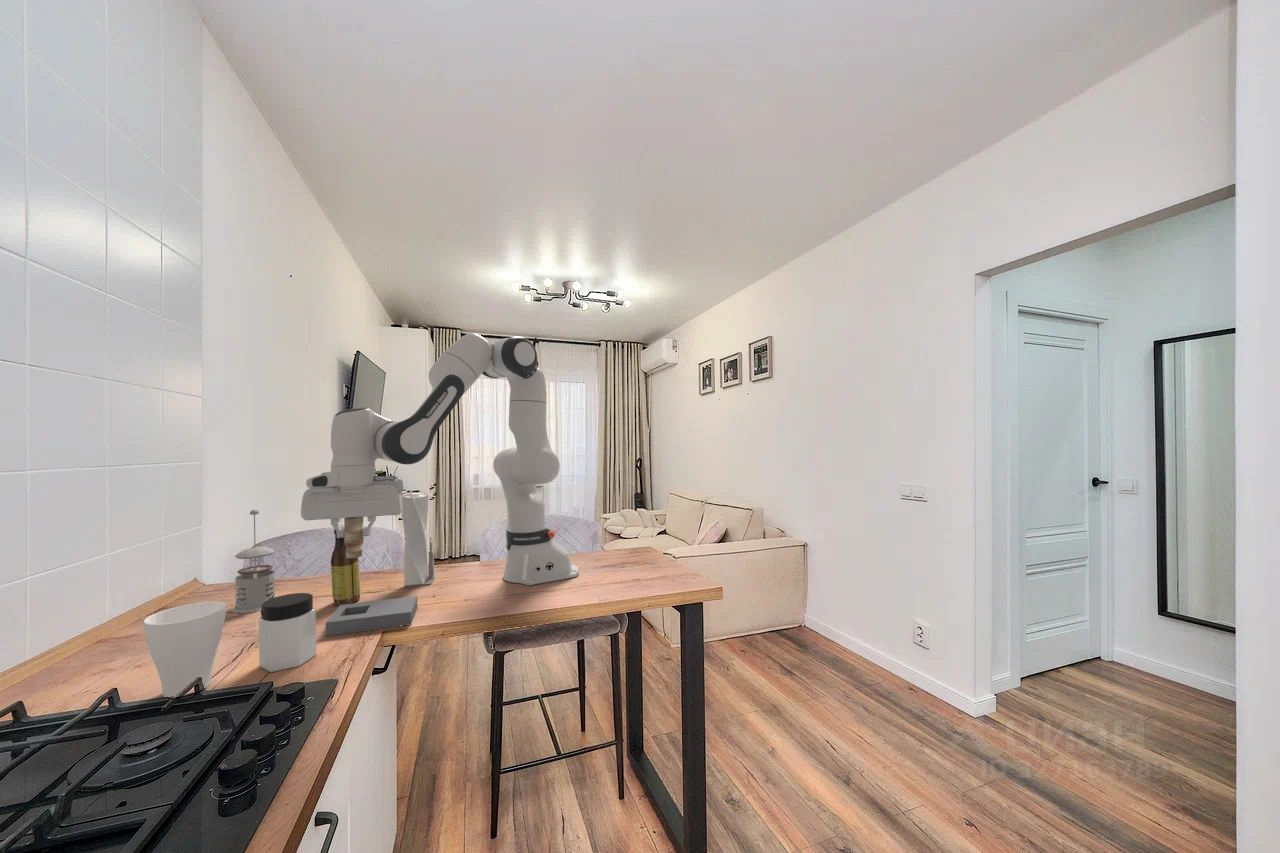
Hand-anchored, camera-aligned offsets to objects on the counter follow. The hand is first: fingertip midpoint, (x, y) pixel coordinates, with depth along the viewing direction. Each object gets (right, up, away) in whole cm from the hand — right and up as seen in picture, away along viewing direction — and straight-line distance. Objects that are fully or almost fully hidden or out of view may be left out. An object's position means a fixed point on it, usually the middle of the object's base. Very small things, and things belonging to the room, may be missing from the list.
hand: (354, 536), depth 111 cm
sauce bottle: (-11, -21, +14) cm, 27 cm away
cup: (-13, -21, -27) cm, 37 cm away
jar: (-2, -21, -18) cm, 27 cm away
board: (+4, -20, +1) cm, 21 cm away
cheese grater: (+1, -21, +29) cm, 35 cm away
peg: (0, -5, 0) cm, 5 cm away
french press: (-33, -21, +13) cm, 42 cm away
